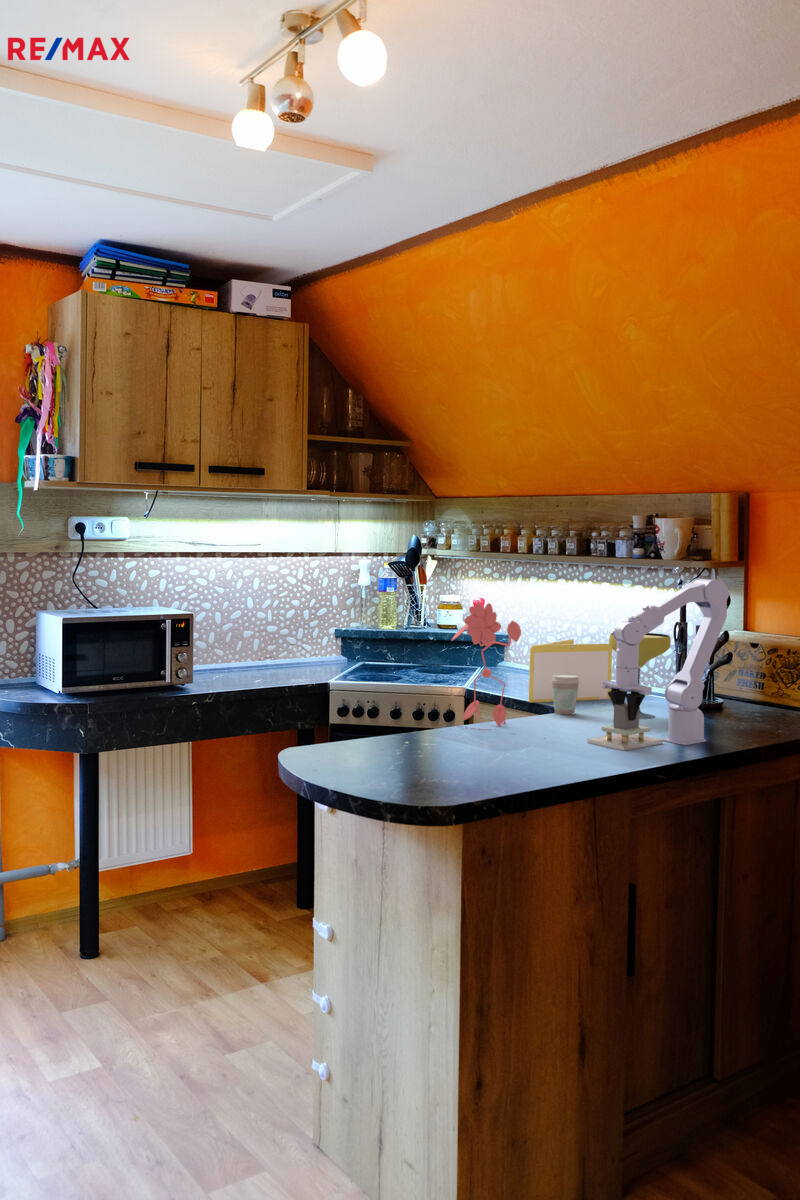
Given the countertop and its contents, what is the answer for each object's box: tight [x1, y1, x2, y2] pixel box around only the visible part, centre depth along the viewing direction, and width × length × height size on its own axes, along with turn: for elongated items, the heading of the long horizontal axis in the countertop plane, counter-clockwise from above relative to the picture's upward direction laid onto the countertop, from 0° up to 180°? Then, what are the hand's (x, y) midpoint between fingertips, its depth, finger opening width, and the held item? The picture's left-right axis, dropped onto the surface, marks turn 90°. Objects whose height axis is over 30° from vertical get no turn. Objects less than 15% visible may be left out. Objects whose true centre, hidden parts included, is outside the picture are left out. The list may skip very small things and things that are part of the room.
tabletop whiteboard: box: [528, 638, 613, 703], centre depth 333 cm, size 35×22×20 cm, turn 148°
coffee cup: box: [551, 674, 580, 715], centre depth 304 cm, size 8×8×12 cm
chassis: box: [586, 732, 664, 752], centre depth 262 cm, size 16×12×3 cm
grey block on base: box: [601, 702, 651, 736], centre depth 262 cm, size 10×8×7 cm
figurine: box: [450, 602, 522, 731], centre depth 284 cm, size 15×26×35 cm, turn 45°
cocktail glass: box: [608, 632, 672, 720], centre depth 302 cm, size 18×18×25 cm
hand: (625, 719), depth 262 cm, fingers closed on grey block on base, 3 cm apart
